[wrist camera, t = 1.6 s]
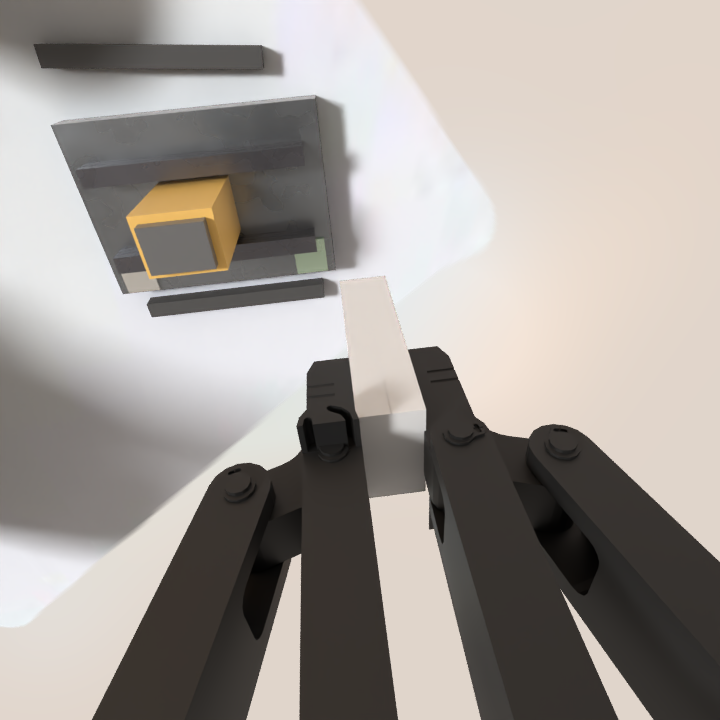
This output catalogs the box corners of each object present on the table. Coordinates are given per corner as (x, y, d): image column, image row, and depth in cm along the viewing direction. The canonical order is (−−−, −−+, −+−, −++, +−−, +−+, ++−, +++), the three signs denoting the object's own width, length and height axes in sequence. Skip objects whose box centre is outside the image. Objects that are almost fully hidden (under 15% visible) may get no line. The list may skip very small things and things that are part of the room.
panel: (129, 283, 31) (115, 305, 29) (62, 120, 25) (37, 130, 23) (334, 260, 32) (336, 279, 29) (314, 94, 26) (315, 101, 24)
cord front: (50, 67, 24) (41, 68, 23) (42, 43, 23) (33, 44, 23) (263, 67, 25) (262, 69, 24) (261, 45, 24) (260, 45, 24)
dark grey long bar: (155, 310, 33) (151, 317, 32) (150, 297, 32) (146, 304, 31) (323, 290, 33) (324, 297, 32) (322, 278, 33) (322, 284, 32)
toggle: (175, 236, 28) (146, 284, 23) (158, 182, 26) (121, 221, 21) (240, 229, 28) (226, 275, 23) (228, 175, 27) (209, 211, 21)
